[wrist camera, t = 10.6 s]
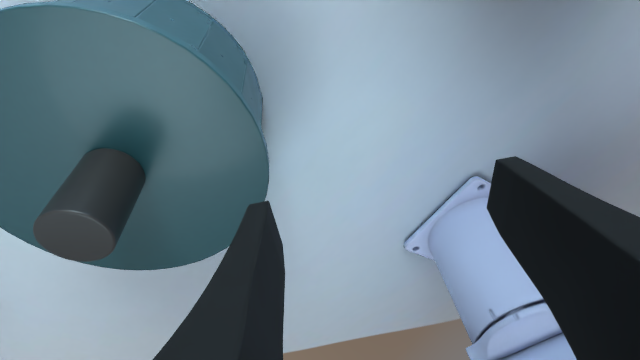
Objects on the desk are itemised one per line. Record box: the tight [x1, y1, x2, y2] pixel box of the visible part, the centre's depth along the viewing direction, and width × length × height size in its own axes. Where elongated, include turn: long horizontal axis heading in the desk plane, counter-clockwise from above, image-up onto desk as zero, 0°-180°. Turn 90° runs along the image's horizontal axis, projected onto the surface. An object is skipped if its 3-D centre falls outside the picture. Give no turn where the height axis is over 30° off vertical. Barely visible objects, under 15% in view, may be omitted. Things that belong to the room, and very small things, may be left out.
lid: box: [0, 2, 269, 270], centre depth 13 cm, size 12×12×5 cm
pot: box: [54, 0, 263, 126], centre depth 17 cm, size 11×11×6 cm
